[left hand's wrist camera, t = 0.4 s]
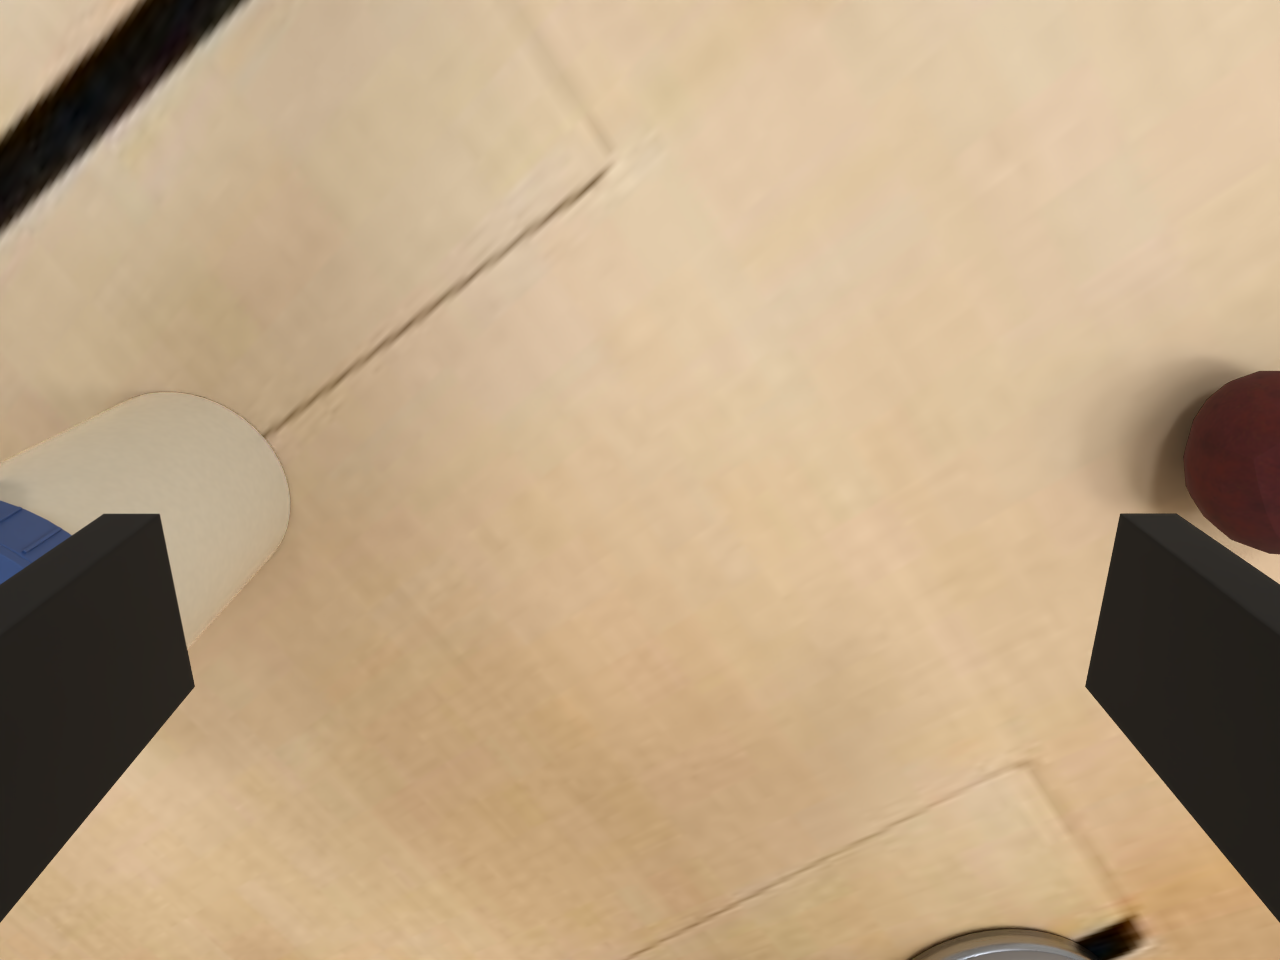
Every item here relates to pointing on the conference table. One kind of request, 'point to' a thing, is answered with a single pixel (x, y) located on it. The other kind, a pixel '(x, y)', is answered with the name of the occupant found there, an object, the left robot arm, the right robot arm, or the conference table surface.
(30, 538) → the lid
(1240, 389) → the dark maroon ball
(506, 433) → the conference table surface
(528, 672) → the conference table surface
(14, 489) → the jar
